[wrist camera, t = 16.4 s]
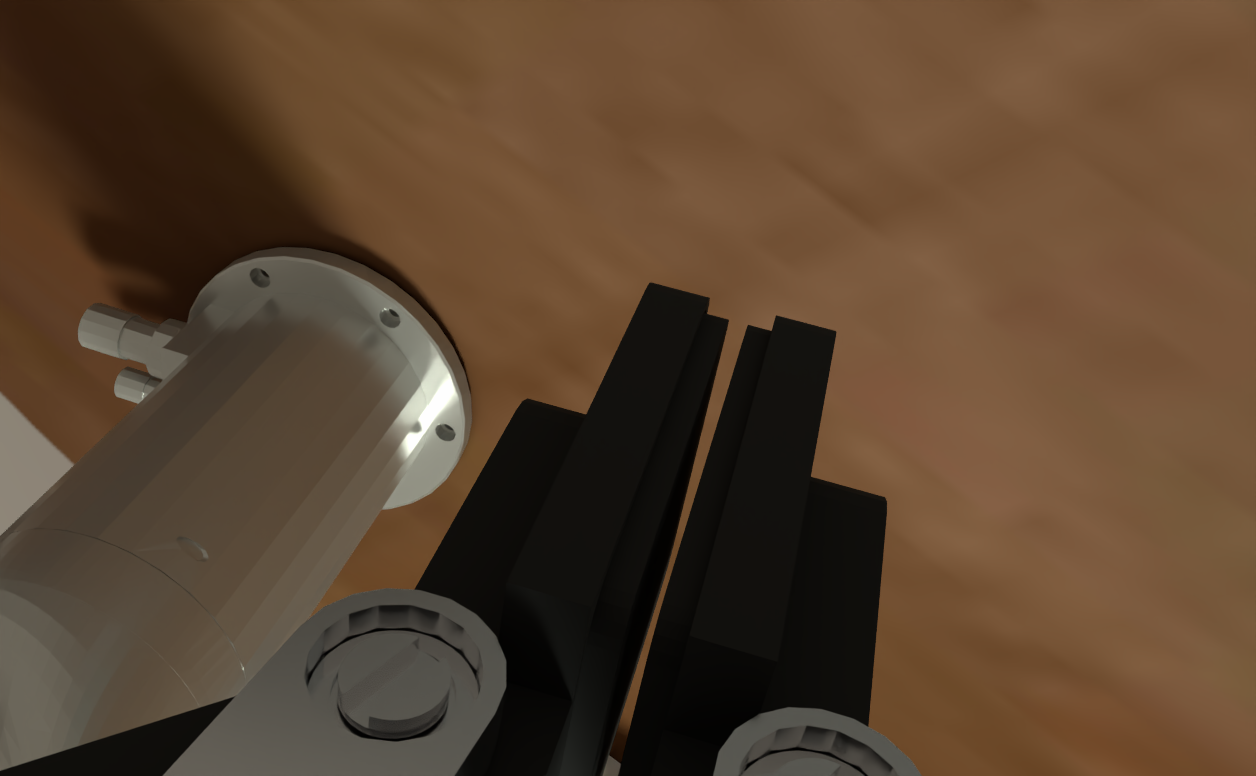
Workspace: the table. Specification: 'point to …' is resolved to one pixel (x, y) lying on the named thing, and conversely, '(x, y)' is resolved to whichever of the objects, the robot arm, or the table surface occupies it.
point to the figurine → (611, 767)
